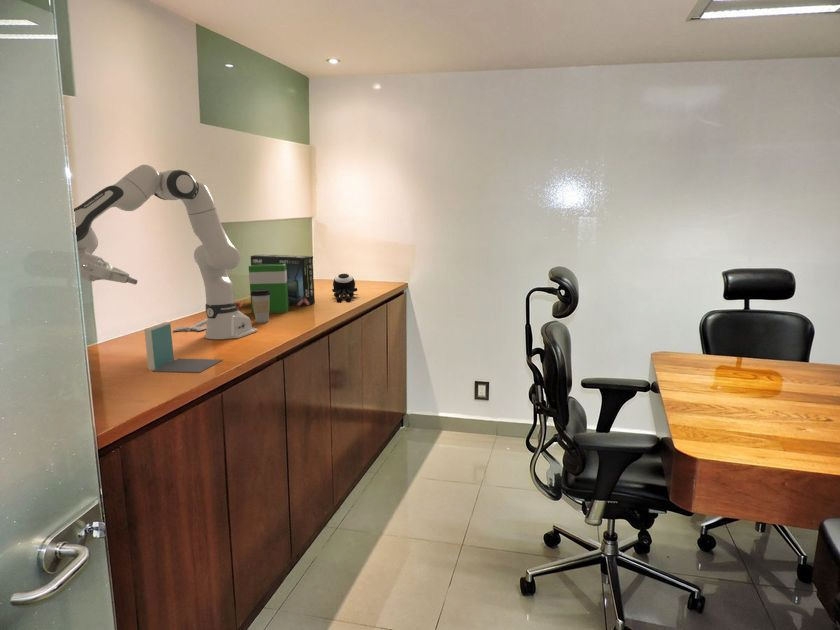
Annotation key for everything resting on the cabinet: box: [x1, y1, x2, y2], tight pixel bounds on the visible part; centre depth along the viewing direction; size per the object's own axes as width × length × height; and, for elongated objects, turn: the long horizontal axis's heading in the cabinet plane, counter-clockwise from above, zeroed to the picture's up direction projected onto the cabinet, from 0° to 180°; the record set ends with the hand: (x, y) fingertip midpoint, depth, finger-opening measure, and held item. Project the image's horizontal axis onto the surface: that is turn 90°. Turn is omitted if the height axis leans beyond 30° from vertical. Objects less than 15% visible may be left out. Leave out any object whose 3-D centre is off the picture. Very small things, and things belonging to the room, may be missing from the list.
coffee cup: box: [249, 289, 271, 324], centre depth 283 cm, size 9×9×15 cm
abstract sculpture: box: [331, 273, 358, 303], centre depth 352 cm, size 15×19×32 cm
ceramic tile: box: [144, 321, 175, 371], centre depth 209 cm, size 2×12×14 cm, turn 171°
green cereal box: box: [248, 264, 290, 314], centre depth 310 cm, size 18×7×24 cm, turn 94°
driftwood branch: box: [173, 318, 207, 332], centre depth 278 cm, size 30×14×2 cm, turn 178°
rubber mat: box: [152, 358, 223, 374], centre depth 208 cm, size 17×16×1 cm
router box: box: [250, 253, 316, 307], centre depth 334 cm, size 36×11×27 cm, turn 66°
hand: (131, 281), depth 209 cm, fingers open, 8 cm apart
